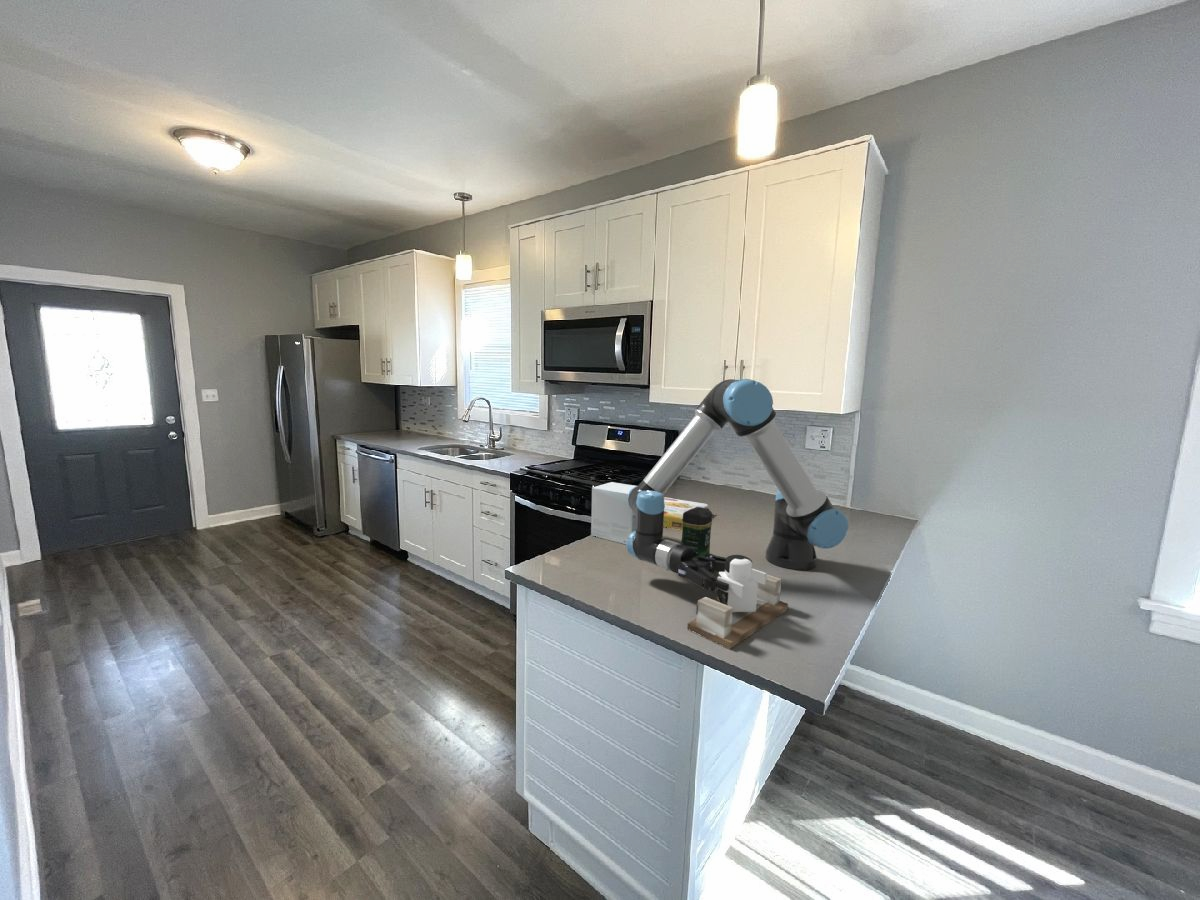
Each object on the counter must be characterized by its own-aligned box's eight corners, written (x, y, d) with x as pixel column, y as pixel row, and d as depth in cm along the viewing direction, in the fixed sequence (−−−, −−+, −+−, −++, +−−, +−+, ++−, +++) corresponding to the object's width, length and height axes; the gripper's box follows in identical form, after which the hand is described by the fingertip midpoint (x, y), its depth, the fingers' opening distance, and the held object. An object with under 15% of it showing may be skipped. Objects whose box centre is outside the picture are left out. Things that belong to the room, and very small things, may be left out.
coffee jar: (701, 577, 139) (704, 514, 136) (675, 570, 143) (678, 510, 141) (712, 566, 147) (716, 507, 144) (688, 560, 151) (691, 503, 149)
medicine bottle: (716, 598, 118) (719, 552, 117) (744, 598, 119) (748, 552, 117) (726, 612, 111) (729, 563, 110) (756, 612, 112) (760, 563, 110)
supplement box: (650, 536, 174) (652, 487, 171) (631, 546, 163) (633, 494, 161) (610, 527, 184) (611, 480, 181) (589, 536, 173) (590, 487, 170)
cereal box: (637, 509, 189) (664, 495, 214) (636, 523, 190) (663, 507, 215) (686, 519, 180) (708, 502, 204) (685, 533, 181) (707, 515, 205)
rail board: (747, 594, 128) (749, 567, 127) (787, 609, 120) (790, 580, 119) (687, 629, 110) (688, 598, 108) (730, 649, 102) (732, 616, 101)
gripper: (700, 561, 135) (776, 586, 119) (648, 582, 120) (727, 615, 104) (702, 535, 134) (778, 557, 118) (649, 554, 119) (729, 583, 103)
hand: (754, 585), depth 111 cm, fingers closed on medicine bottle, 10 cm apart
